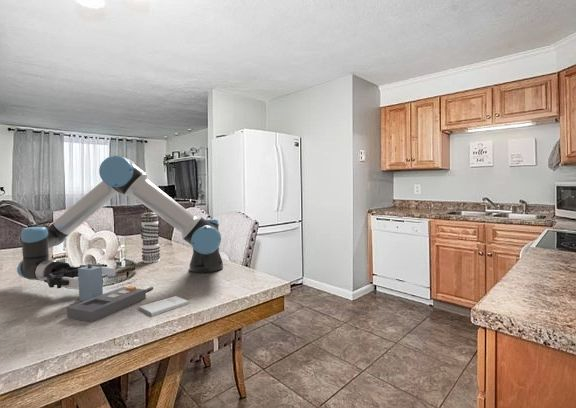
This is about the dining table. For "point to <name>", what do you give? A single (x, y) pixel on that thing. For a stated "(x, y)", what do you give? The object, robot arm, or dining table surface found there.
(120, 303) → the power strip
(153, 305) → the external hard drive
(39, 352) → the dining table surface
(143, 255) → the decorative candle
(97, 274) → the block
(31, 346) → the dining table surface
